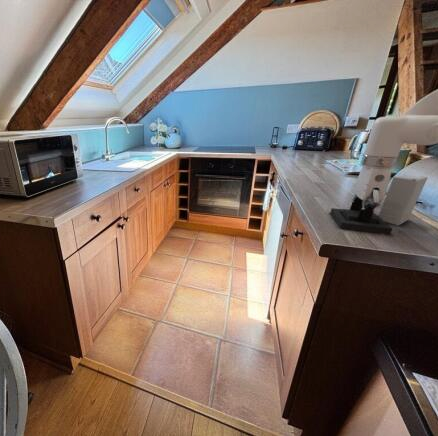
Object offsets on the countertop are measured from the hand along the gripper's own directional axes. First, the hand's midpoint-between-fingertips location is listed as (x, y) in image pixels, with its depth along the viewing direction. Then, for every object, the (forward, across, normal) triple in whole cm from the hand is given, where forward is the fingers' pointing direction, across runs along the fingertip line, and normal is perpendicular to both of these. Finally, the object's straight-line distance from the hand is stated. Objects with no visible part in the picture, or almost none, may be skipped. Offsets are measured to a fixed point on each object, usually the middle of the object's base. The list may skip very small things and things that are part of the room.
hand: (358, 217), depth 78 cm
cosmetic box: (+2, +7, -11) cm, 14 cm away
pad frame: (+2, 0, 0) cm, 2 cm away
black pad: (+1, 0, 0) cm, 1 cm away
